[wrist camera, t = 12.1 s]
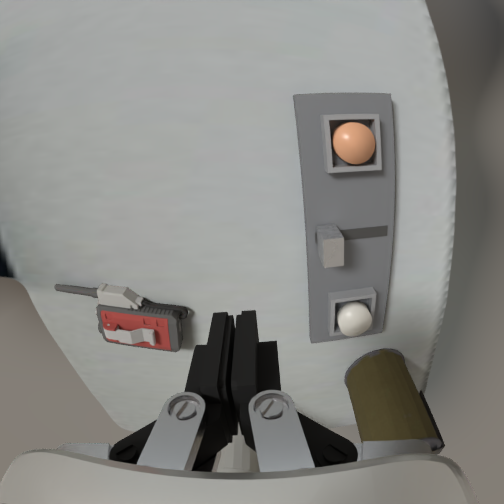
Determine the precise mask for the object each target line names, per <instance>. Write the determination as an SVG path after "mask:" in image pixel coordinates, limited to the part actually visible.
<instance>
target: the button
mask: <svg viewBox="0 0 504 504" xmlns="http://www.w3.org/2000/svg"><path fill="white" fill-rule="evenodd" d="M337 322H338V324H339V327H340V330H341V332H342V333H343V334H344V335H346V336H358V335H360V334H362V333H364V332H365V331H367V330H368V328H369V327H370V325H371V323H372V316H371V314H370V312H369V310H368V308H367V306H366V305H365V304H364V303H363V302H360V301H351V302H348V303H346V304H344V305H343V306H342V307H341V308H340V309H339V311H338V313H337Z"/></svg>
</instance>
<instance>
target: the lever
mask: <svg viewBox="0 0 504 504" xmlns="http://www.w3.org/2000/svg"><path fill="white" fill-rule="evenodd" d="M317 249H318V254H319V257H320V259H321V262H322V264H323V267H324V268H329V267H337V266H344V237H343V235H342V234H341V232H340V231H339V229H338V228H337V226H336V225H335V224H333V225H323V226H317Z"/></svg>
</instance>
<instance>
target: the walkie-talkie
mask: <svg viewBox="0 0 504 504" xmlns="http://www.w3.org/2000/svg"><path fill="white" fill-rule="evenodd" d="M55 290H57V291H62V292H68V293H74V294H81V295H87V296H92V297H94V298H98V306H97V307H96V311H95V313H96V315H97V316H98V320H99V324H98V330H99V332H100V333H102V335H103V338H104V339H105V340H106V341H107V342H110V343H116V344H122V345H128V346H134V347H135V346H136V347H141V348H148V349H156V350H163V351H171V352H177V351H179V350H180V347H181V343H182V340H183V336H182V324H181V319H184V318H186V317H187V314H188V310H187V309H186V308H185V307H182V306H176V305H168V304H166V305H165V304H160V303H159V304H156V303H152V302H151V303H150V302H148V301H146V300H144V299H143V297H140V296H139V295H137V294H136V293H135V292H133V291H132V290H131V289H129V288H128V287H120V286H112V285H107V284H103V283H102V284H101V285H100V286H99V288H84V287H78V286H67V285H60V284H56V285H55ZM181 311H182V312H184V314H181Z"/></svg>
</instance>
